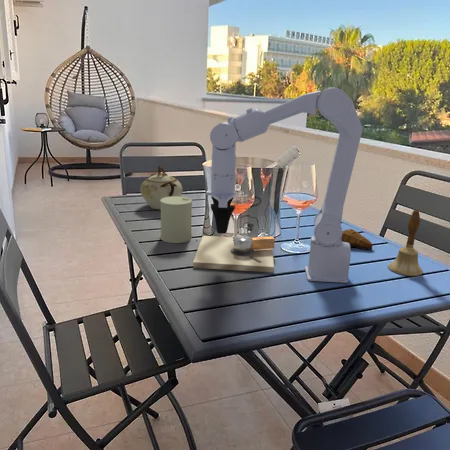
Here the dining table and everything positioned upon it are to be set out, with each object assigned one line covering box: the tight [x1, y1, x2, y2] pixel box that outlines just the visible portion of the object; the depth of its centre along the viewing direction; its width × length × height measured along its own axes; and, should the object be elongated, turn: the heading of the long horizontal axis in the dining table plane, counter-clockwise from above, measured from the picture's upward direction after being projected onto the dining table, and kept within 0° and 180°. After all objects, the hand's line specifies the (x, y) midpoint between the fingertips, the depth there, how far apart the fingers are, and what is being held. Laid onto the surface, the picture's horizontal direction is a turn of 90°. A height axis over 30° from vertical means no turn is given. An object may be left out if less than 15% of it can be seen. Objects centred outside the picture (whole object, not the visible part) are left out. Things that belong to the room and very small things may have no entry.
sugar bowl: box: [140, 165, 183, 211], centre depth 162 cm, size 20×15×15 cm
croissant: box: [341, 228, 373, 250], centre depth 132 cm, size 14×7×5 cm, turn 49°
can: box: [160, 195, 193, 244], centre depth 131 cm, size 9×9×12 cm
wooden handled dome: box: [233, 235, 276, 254], centre depth 120 cm, size 11×5×3 cm, turn 106°
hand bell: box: [388, 209, 423, 277], centre depth 114 cm, size 8×8×16 cm
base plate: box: [192, 235, 275, 273], centre depth 122 cm, size 20×20×2 cm
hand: (221, 227), depth 112 cm, fingers open, 7 cm apart
